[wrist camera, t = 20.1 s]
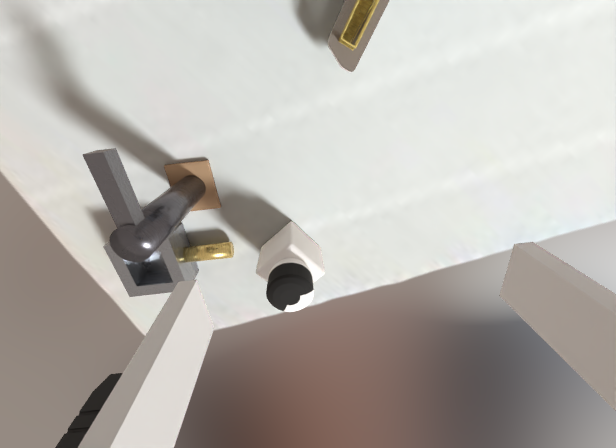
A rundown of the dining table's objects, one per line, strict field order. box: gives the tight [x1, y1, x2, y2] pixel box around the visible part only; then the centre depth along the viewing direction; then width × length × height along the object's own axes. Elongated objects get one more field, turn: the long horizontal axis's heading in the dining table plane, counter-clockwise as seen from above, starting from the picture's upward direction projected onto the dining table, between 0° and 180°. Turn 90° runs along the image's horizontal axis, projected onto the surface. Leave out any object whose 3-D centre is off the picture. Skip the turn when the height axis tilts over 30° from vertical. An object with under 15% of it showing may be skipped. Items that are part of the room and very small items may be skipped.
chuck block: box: [103, 223, 234, 297], centre depth 41 cm, size 9×16×5 cm, turn 96°
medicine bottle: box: [256, 221, 325, 312], centre depth 38 cm, size 7×7×12 cm
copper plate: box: [164, 160, 221, 211], centre depth 38 cm, size 7×6×1 cm
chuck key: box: [83, 148, 206, 262], centre depth 29 cm, size 10×4×16 cm, turn 6°
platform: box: [328, 0, 389, 72], centre depth 28 cm, size 12×18×7 cm, turn 153°
